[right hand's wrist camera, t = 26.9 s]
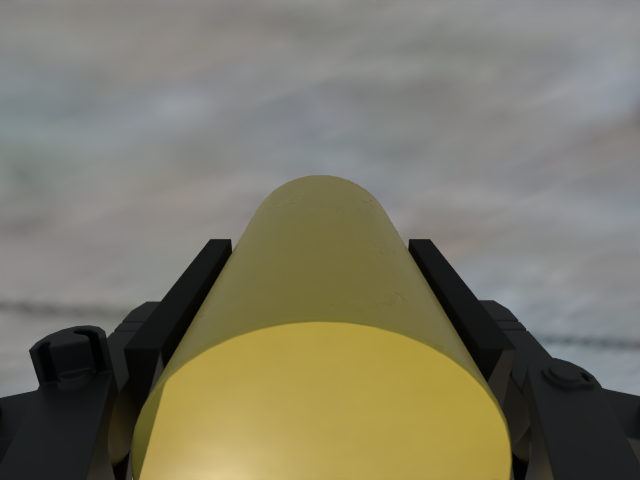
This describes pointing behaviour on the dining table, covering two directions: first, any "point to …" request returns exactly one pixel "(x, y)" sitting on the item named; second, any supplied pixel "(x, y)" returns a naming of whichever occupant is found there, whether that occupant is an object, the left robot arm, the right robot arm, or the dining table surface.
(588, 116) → the dining table surface
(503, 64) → the dining table surface
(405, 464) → the tin
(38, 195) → the dining table surface
